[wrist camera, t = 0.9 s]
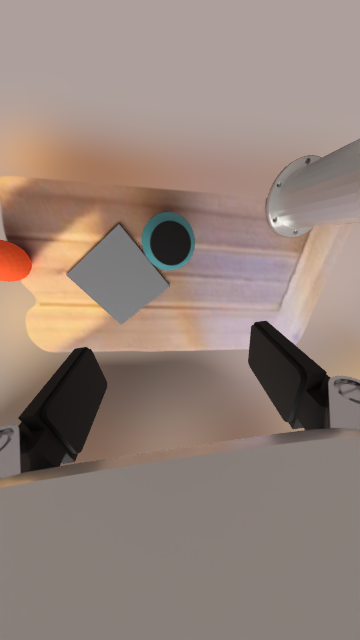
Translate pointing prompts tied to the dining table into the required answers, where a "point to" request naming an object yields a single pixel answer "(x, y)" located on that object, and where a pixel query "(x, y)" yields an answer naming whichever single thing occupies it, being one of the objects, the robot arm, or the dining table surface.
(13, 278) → the clementine
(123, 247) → the mat
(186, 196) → the dining table surface
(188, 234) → the beverage bottle
